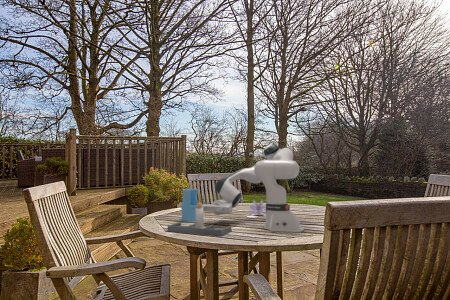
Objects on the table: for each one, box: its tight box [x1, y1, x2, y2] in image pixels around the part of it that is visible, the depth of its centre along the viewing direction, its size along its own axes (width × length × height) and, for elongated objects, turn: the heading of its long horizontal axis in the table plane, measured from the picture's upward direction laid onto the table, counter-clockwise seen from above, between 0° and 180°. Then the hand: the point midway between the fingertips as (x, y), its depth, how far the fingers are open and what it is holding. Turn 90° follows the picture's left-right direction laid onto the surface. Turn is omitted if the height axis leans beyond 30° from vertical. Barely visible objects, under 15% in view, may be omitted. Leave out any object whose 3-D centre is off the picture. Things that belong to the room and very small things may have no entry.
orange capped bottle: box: [195, 202, 206, 228], centre depth 194 cm, size 5×5×14 cm
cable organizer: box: [167, 221, 233, 237], centre depth 193 cm, size 32×14×3 cm, turn 67°
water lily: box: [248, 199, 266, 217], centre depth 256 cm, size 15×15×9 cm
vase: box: [180, 188, 199, 223], centre depth 229 cm, size 8×8×20 cm
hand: (209, 210), depth 205 cm, fingers open, 8 cm apart
